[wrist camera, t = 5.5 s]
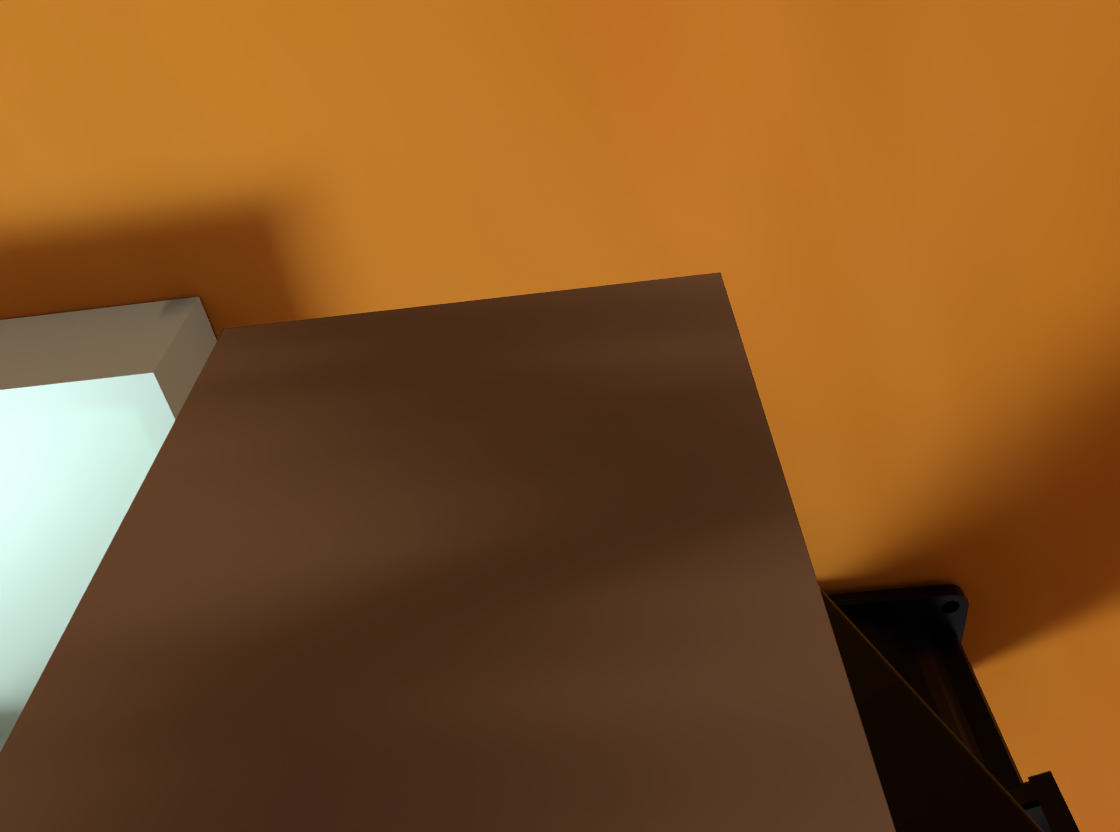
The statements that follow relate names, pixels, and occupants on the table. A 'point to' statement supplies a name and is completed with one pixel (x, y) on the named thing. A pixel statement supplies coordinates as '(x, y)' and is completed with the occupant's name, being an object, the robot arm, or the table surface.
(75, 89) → the table surface
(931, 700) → the robot arm
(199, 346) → the tray
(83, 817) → the walnut block
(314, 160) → the table surface
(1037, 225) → the table surface
